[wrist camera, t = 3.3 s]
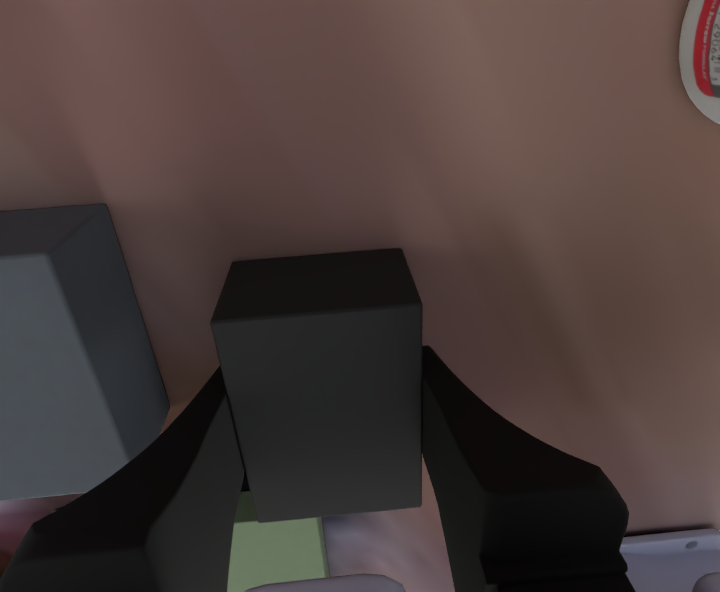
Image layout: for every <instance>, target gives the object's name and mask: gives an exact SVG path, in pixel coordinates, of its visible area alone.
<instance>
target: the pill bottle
mask: <svg viewBox="0 0 720 592" xmlns="http://www.w3.org/2000/svg"><path fill="white" fill-rule="evenodd" d="M679 65H680V71H681V78H682V82H683V84H684V87H685V89H686V91H687V94H688V96H689V98H690V99H691V101H692V102H693V103H694V104H695V106H696V107H697V108H698V109H699V110H700V111H701V112H702V113H703V114H704V115H705V116H706V117H708V118H709V119H711V120H712V121H714V122H716V123H717V124H720V0H690V1H689V3H688V7H687V10H686V13H685V17H684V20H683V23H682V28H681V35H680V42H679Z"/></svg>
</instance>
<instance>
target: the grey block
mask: <svg viewBox="0 0 720 592" xmlns="http://www.w3.org/2000/svg"><path fill="white" fill-rule="evenodd" d="M169 409H170V405H169V402H168V399H167V396H166V392H165V389H164V386H163V383H162V380H161V377H160V373H159V370H158V367H157V364H156V361H155V358H154V354H153V351H152V348H151V345H150V342H149V339H148V335H147V332H146V329H145V326H144V323H143V319H142V316H141V313H140V310H139V307H138V304H137V300H136V297H135V294H134V291H133V288H132V285H131V281H130V278H129V275H128V272H127V269H126V266H125V262H124V259H123V256H122V253H121V250H120V247H119V243H118V240H117V237H116V234H115V231H114V227H113V224H112V221H111V218H110V215H109V212H108V208H107V206H106V204H93V205H80V206H67V207H54V208H41V209H28V210H15V211H2V212H0V501H7V500H18V499H28V498H38V497H48V496H58V495H69V494H79V493H87V492H88V491H90V490H91V489H93V488H94V487H96V486H97V485H99V484H100V483H102V482H103V481H105V480H106V479H108V478H109V477H110V476H112V475H113V474H114V473H116V472H117V471H118V470H120V469H121V468H122V467H123V466H125V465H126V464H127V463H129V462H130V461H131V460H132V459H134V458H135V457H136V456H138V455H139V454H140V453H141V452H142V451H143V450H145V449H146V448H147V447H148V446H149V445H150V444H151V443H152V442H154V441H155V440H156V439H157V438H158V437H159V434H160V432H161V429H162V427H163V424H164V421H165V419H166V416H167V414H168V411H169Z"/></svg>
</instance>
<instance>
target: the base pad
mask: <svg viewBox="0 0 720 592" xmlns="http://www.w3.org/2000/svg"><path fill="white" fill-rule="evenodd" d="M55 511H57V510H53V511H52V513H53V512H55ZM327 577H330V575H329V568H328V561H327V554H326V547H325V540H324V533H323V526H322V519H321V517H318V518H308V519H298V520H288V521H278V522H268V523H258V521H257V517H256V513H255V508H254V504H253V500H252V496H251V492H250V491H243V492H240V496H239V501H238V505H237V510H236V515H235V521H234V528H233V537H232V546H231V555H230V565H229V575H228V586H227V592H245V591H246V590H247V589H250V588H254V587H257V586H261V585H265V584H270V583H280V582H289V581H299V580H308V579H318V578H327Z"/></svg>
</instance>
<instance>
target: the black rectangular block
mask: <svg viewBox="0 0 720 592" xmlns="http://www.w3.org/2000/svg"><path fill="white" fill-rule="evenodd" d="M422 306H423V305H422V302H421V299H420V297H419V294H418V291H417V289H416V286H415V283H414V281H413V278H412V275H411V273H410V270H409V267H408V265H407V262H406V259H405V256H404V254H403V251H402V249H400V248H397V249H384V250H372V251H360V252H348V253H335V254H323V255H311V256H299V257H286V258H274V259H262V260H250V261H237V262H233V263H232V265H231V267H230V270H229V273H228V275H227V278H226V281H225V284H224V286H223V289H222V292H221V295H220V297H219V300H218V303H217V305H216V308H215V311H214V314H213V316H212V319H211V322H210V324H211V328H212V332H213V336H214V341H215V345H216V349H217V353H218V357H219V362H220V366H221V370H222V374H223V378H224V383H225V387H226V391H227V395H228V399H229V404H230V408H231V412H232V416H233V420H234V425H235V429H236V433H237V437H238V441H239V445H240V450H241V454H242V458H243V462H244V466H245V471H246V475H247V479H248V483H249V487H250V492H251V496H252V500H253V504H254V508H255V513H256V517H257V521H258V523H268V522H278V521H288V520H298V519H308V518H318V517H328V516H337V515H347V514H357V513H367V512H377V511H387V510H397V509H407V508H416V507H421V504H422Z"/></svg>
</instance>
